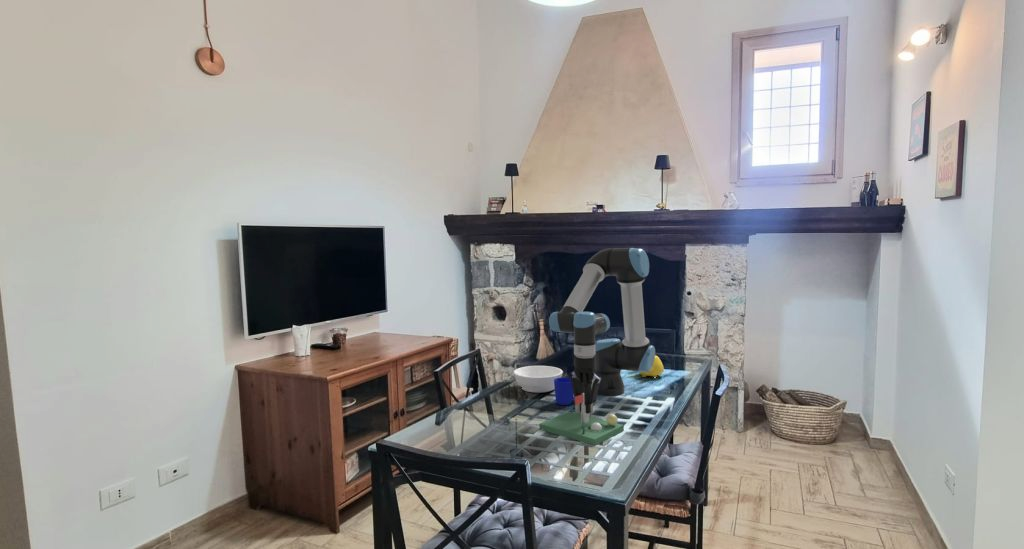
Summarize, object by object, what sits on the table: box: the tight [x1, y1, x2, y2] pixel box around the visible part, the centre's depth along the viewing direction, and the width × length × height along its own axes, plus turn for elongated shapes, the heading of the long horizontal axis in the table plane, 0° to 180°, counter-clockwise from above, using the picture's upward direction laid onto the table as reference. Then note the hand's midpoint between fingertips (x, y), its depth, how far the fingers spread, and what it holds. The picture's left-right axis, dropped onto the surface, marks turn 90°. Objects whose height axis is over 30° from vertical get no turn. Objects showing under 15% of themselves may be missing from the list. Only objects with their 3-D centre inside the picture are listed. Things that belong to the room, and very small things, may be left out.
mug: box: [554, 376, 575, 406], centre depth 226 cm, size 8×12×10 cm
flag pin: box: [574, 393, 585, 434], centre depth 184 cm, size 5×1×14 cm, turn 137°
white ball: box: [591, 422, 602, 431], centre depth 191 cm, size 4×4×4 cm
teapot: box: [638, 354, 665, 378], centre depth 268 cm, size 20×15×12 cm
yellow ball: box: [605, 413, 619, 426], centre depth 193 cm, size 4×4×4 cm
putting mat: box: [538, 411, 625, 446], centre depth 195 cm, size 18×24×2 cm
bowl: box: [513, 365, 564, 393], centre depth 249 cm, size 22×22×8 cm
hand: (585, 421), depth 194 cm, fingers closed
